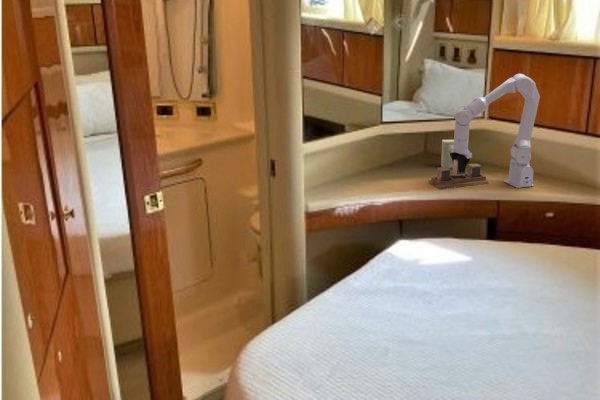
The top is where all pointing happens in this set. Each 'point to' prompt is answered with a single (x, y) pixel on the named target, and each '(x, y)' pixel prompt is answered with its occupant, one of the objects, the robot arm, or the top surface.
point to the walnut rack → (458, 178)
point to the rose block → (457, 168)
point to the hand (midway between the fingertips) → (459, 170)
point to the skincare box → (446, 154)
